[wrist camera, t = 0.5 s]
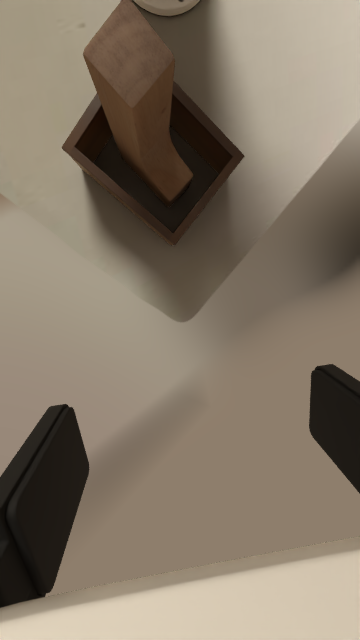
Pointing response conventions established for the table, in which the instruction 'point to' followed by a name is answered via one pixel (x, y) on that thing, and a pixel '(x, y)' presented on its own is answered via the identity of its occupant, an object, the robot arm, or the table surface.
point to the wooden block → (138, 98)
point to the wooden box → (190, 127)
